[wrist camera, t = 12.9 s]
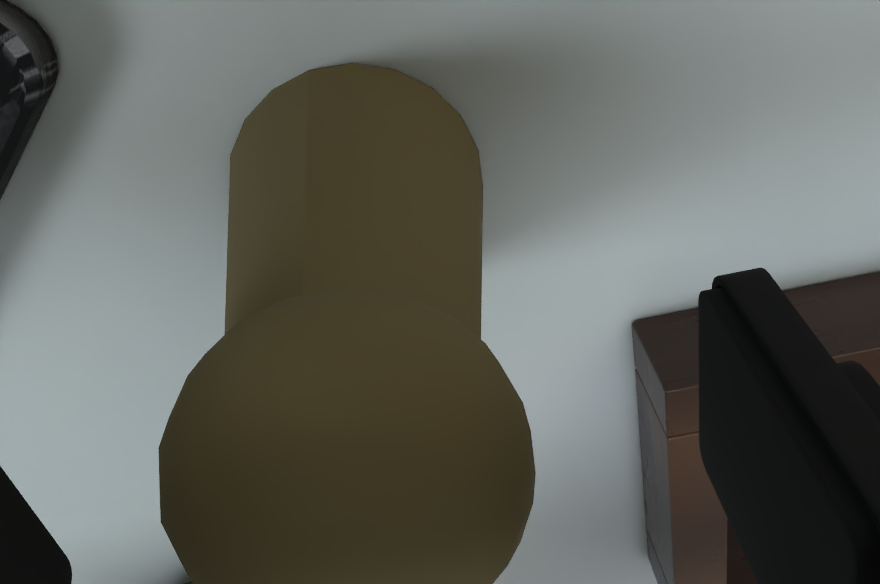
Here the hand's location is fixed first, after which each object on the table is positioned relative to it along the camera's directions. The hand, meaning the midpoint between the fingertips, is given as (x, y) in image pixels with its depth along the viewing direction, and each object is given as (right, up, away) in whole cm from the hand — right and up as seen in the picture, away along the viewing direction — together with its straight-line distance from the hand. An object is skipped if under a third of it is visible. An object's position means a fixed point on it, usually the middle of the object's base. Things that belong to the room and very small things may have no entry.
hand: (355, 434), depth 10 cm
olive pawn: (-1, +4, +9) cm, 10 cm away
